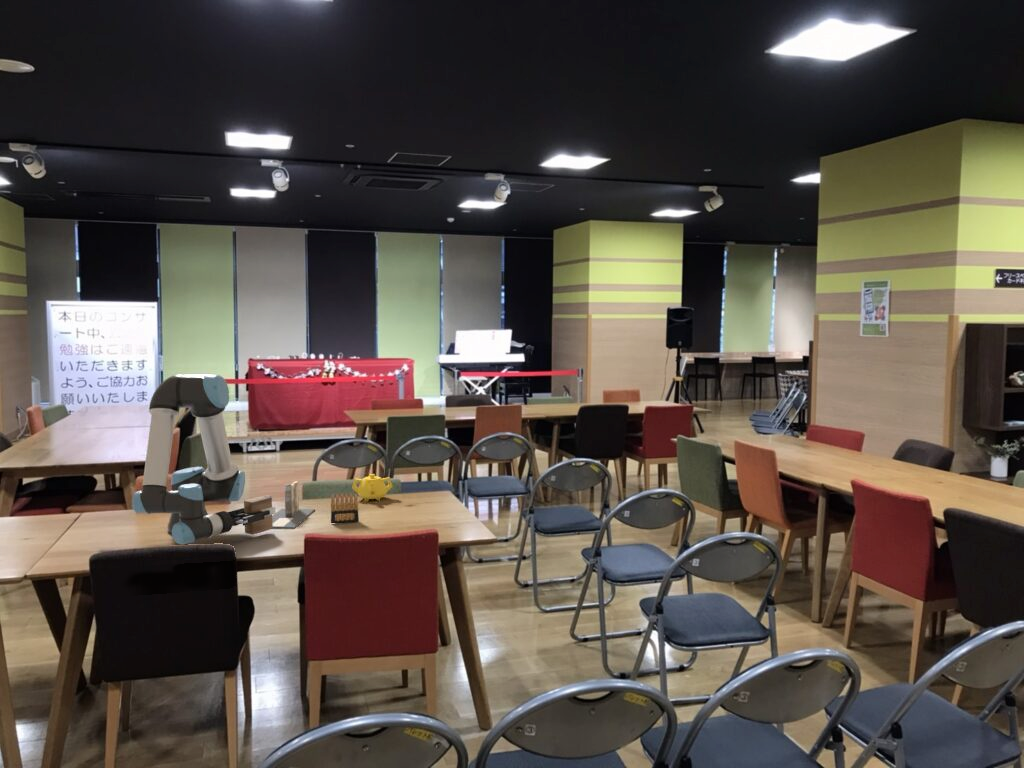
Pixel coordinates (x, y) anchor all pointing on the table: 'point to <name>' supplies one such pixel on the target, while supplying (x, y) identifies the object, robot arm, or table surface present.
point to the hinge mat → (289, 518)
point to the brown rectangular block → (256, 506)
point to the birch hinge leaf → (291, 499)
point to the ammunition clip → (344, 509)
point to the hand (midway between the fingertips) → (269, 509)
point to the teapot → (372, 487)
